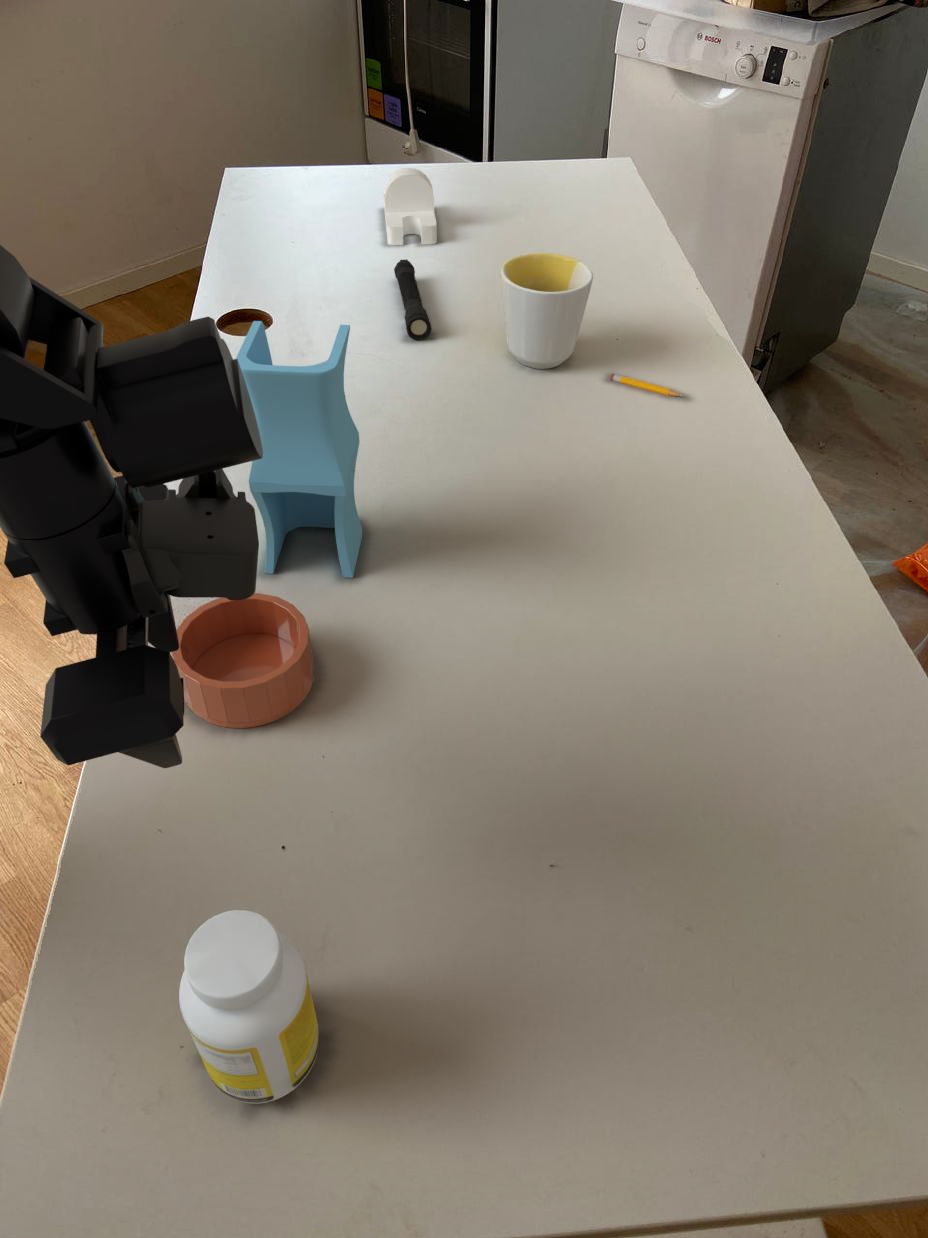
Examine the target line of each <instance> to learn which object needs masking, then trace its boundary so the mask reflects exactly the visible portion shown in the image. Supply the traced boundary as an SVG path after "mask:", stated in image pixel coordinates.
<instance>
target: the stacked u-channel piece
mask: <svg viewBox="0 0 928 1238" xmlns="http://www.w3.org/2000/svg"><path fill="white" fill-rule="evenodd" d="M350 330H351V324H340V325H339V326H338V330H337V333H336V336H335V339H334V342H333V345H332V348H331V351H330V354H329V357H328V359H327V360H325V361H323V362H320V363H316V364H311V365H295V366H294V365H276V364H275V365H274V364H273V359H272V356H271V351H270V346H269V340H268V336H267V333H266V332H267V331H266V329H265V325H264V322H263V321H262V320H253V321H252V324H251V325H250V327H249V330H248V331H247V333H246V336H245V337H244V340H243V342H242V344H241V347H240V349H239V350H238V353H237V355H236V358H235V359H237V360H238V362H239V365H240V368H241V371H242V374H243V377H244V380H245V383H246V386H247V389H248V392H249V396H250V399H251V402H252V406H253V409H254V413H255V417H256V421H257V425H258V429H259V433H260V438H261V443H262V449H263V458H262V459H258V460H254V461H251V466H250V471H249V477H248V486H249V492H250V493H251V496H252V497H253V499H254V502H255V504H256V506H257V509H258V511H259V513H260V516H261V519H262V523H263V527H264V533H265V541H266V542H265V544H266V545H265V550H266V551H265V563H264V564H265V565H264V574H268V575H273V574H274V573H275V570H276V567H277V564H278V560H279V557H280V554H281V550H282V547H283V544H284V542H285V538H286V536H287V534H288V533H289V532H291V531H293V530H295V529H297V528H304V527H306V528H329V529H334V532H335V533H334V534H335V542H336V548H337V555H338V560H339V565H340V569H341V575H342V578H343V579H353V578H354V574H355V570H356V565H357V562H358V557H359V553H360V548H361V543H362V538H363V527H362V523H361V520H360V518H359V517H360V516H359V514H358V509H357V504H356V499H355V474H356V466H357V458H358V452H359V447H360V443H361V442H360V432H359V430H358V428H357V426H356V424H355V421H354V420H353V418H352V414H351V413H350V410H349V406H348V403H347V399H346V392H345V364H346V355H347V350H348V349H347V348H348V342H349V337H350Z"/></svg>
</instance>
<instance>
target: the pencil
mask: <svg viewBox="0 0 928 1238" xmlns="http://www.w3.org/2000/svg"><path fill="white" fill-rule="evenodd" d="M609 379H610V381H611V382H615V383H619V384H622V385H626V386H630V387H635V388H638V389H642V390H646V391H649V392H653V393H657V394H660V395H665V396H669V397H683V395H682V394H681V393H679V392H677V391H675V390H673V389H672V388H668V387H665V386H661V385H656V384H653V383H649V382H646V381H642V380H638V379H634V378H630V377H626V376H622V375H619V374H615V373H612V374H611V375H610V377H609Z"/></svg>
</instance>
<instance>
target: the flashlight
mask: <svg viewBox="0 0 928 1238" xmlns="http://www.w3.org/2000/svg"><path fill="white" fill-rule="evenodd" d="M393 271H394V272H393V273H394V276H395V278H396V280H397V284H398V288H399V292H400V296H401V301H402V304H403V308H404V309H403V310H404V311H405V313H404V321H405V327H406V333H407V336H408V337H409V338H410V339H411V340H414V341H419V342H420V341H424V340H426V339H427V338H428V337H430V334H431V333H432V328H433V327H432V324H431V321H430V318H429V316H428V311H427V310H426V309H425V308H424V306H423V300H422V297H421V294H420V290H419V286H418V282H417V279H416V276H415V274H416V271H415V267H414V265H413V264H412V263H411V261H409V259H407V258H406V259H399V261H398V262H396V265H395V267H394V268H393Z"/></svg>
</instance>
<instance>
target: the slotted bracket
mask: <svg viewBox="0 0 928 1238" xmlns="http://www.w3.org/2000/svg"><path fill="white" fill-rule="evenodd" d="M383 205H384V218H385V228H386V229H385V230H386V240H387V245H388V246H404V236H408V235H417V236H419V237H420V243H421V246H422V245H423V246H427V245H428V246H431V245H435V244H437V242H438V241H437V236H438V234H437V228H438V227H437V226H438V225H437V219H436V213H435V195H434V189H433V185H432V183H431V180H430V179H429V178H428V176H427V175H426V173H424V172H422V170H420V169H417V168H413V167H405V168H400V169H398V170H396V171H395V172H393V173H392V174H391V175H390V176H389V177H388V179H387V181H386V183H385V186H384V193H383Z"/></svg>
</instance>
